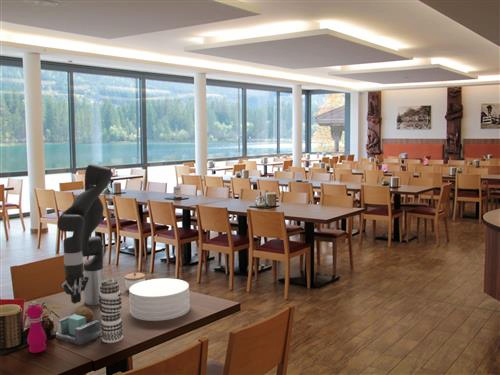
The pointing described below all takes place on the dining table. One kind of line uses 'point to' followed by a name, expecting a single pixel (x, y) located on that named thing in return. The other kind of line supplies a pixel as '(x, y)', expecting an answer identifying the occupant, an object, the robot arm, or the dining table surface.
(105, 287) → the white patterned cylinder
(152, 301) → the plate stack
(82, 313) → the bread roll
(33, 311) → the pepper mill
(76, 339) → the vise
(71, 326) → the teal block
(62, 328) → the bar
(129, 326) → the dining table surface
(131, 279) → the lidded jar
